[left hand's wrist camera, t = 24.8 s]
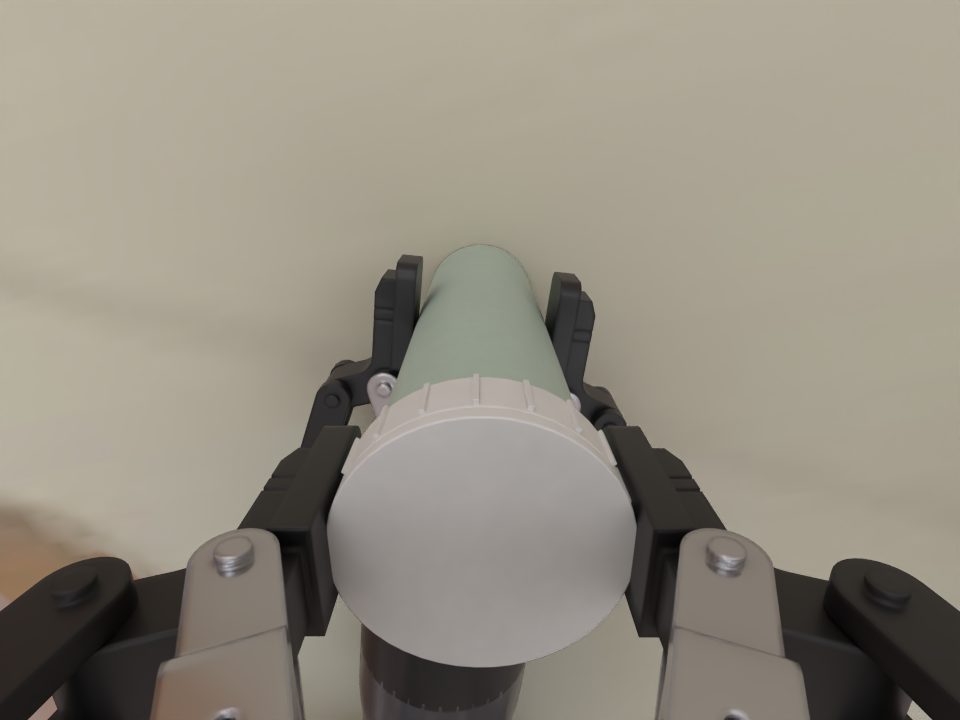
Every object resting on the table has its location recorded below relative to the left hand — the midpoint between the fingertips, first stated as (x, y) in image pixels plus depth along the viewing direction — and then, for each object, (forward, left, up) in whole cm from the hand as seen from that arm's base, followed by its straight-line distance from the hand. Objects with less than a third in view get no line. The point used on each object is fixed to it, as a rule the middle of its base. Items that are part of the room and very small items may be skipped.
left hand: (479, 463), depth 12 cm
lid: (0, 0, +3) cm, 3 cm away
